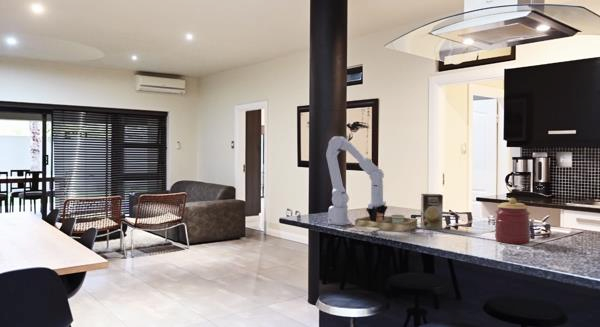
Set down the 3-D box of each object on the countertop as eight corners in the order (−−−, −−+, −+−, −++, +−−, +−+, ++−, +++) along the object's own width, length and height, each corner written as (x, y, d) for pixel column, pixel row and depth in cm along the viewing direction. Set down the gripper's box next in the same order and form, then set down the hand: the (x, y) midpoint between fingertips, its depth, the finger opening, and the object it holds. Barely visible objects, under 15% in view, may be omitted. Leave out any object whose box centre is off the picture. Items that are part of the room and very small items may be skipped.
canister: (515, 245, 179) (515, 200, 178) (488, 240, 191) (488, 197, 190) (537, 242, 185) (537, 198, 184) (509, 236, 197) (509, 195, 196)
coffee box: (422, 229, 216) (422, 195, 216) (420, 227, 223) (420, 193, 222) (442, 229, 215) (442, 195, 215) (440, 227, 222) (440, 193, 221)
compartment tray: (355, 226, 226) (354, 218, 226) (370, 222, 238) (370, 214, 238) (403, 231, 210) (403, 223, 210) (417, 227, 222) (417, 218, 222)
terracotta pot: (368, 226, 226) (368, 213, 226) (374, 224, 231) (374, 212, 231) (379, 227, 222) (379, 214, 222) (385, 225, 227) (385, 213, 227)
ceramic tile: (347, 229, 216) (347, 228, 216) (357, 227, 224) (357, 225, 224) (370, 232, 209) (370, 231, 209) (380, 229, 216) (380, 228, 216)
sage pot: (389, 228, 219) (389, 215, 219) (394, 226, 224) (394, 214, 224) (400, 229, 216) (400, 216, 215) (406, 228, 220) (406, 215, 220)
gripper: (377, 195, 218) (377, 224, 218) (391, 193, 229) (391, 220, 230) (364, 194, 222) (364, 223, 223) (378, 192, 234) (378, 219, 234)
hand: (377, 221), depth 226 cm, fingers open, 7 cm apart
